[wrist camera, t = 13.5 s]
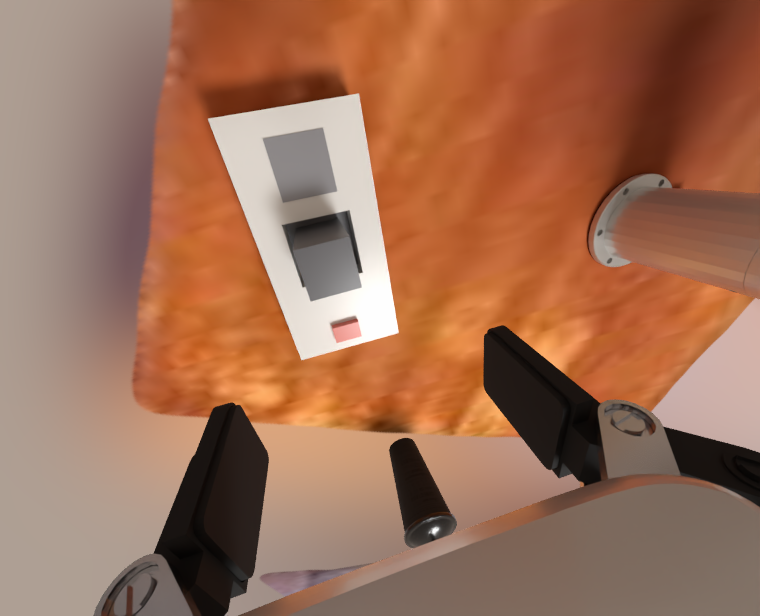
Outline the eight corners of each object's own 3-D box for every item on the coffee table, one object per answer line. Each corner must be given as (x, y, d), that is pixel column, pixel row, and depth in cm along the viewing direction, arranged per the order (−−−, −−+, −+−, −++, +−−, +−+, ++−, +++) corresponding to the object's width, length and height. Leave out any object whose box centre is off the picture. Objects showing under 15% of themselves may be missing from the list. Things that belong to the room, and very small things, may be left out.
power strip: (351, 102, 27) (360, 91, 23) (390, 317, 38) (400, 336, 34) (221, 125, 25) (204, 117, 21) (301, 341, 37) (301, 364, 33)
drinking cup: (407, 425, 49) (464, 570, 31) (429, 444, 52) (491, 582, 35) (372, 450, 49) (409, 604, 32) (396, 467, 53) (441, 613, 36)
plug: (337, 217, 30) (349, 236, 22) (348, 257, 32) (362, 287, 24) (296, 228, 30) (292, 250, 22) (309, 268, 32) (310, 301, 24)
